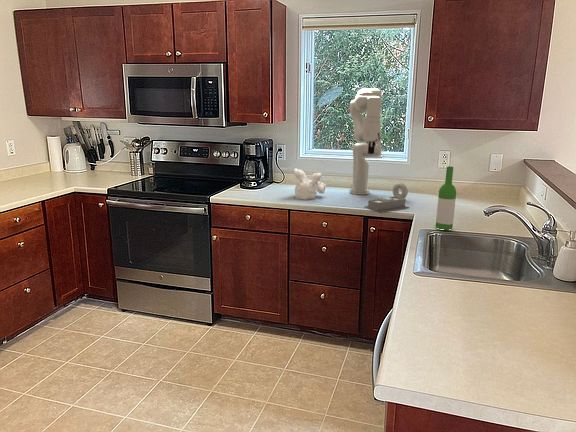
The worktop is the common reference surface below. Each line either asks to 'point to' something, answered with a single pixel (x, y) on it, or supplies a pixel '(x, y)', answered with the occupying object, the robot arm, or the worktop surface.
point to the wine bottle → (446, 202)
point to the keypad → (387, 204)
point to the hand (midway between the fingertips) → (371, 153)
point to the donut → (402, 187)
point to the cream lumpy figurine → (308, 185)
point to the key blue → (387, 199)
